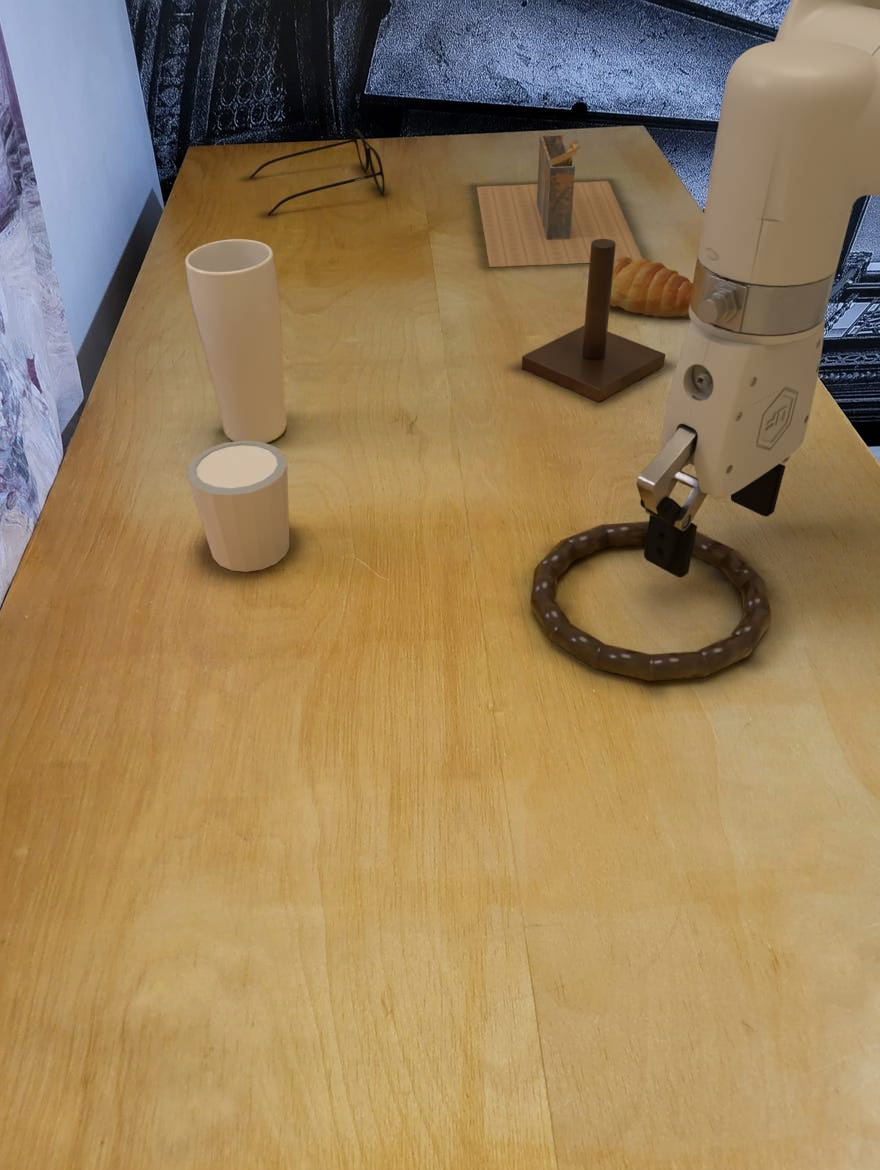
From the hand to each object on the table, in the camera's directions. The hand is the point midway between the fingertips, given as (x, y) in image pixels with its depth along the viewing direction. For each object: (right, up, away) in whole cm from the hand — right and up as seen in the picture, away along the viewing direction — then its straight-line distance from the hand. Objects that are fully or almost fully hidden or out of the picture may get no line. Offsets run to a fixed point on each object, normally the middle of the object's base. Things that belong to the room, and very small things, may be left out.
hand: (709, 536), depth 71 cm
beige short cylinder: (-32, -1, +5) cm, 32 cm away
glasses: (-32, +50, +61) cm, 85 cm away
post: (-4, +18, +23) cm, 29 cm away
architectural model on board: (-3, +41, +50) cm, 65 cm away
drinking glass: (-33, +10, +17) cm, 39 cm away
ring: (-5, -4, -2) cm, 7 cm away
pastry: (+3, +26, +33) cm, 42 cm away
